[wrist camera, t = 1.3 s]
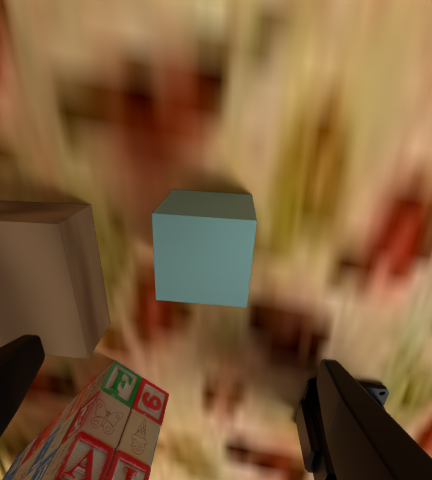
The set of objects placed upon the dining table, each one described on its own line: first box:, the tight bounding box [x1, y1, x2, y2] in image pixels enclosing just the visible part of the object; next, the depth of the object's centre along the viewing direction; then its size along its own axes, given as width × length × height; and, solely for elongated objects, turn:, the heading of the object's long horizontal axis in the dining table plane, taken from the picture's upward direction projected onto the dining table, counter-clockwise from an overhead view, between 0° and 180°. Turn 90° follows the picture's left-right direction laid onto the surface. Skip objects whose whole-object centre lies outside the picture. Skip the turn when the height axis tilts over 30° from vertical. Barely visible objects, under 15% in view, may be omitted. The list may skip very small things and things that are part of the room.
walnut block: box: [0, 201, 110, 359], centre depth 19 cm, size 10×10×4 cm
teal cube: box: [152, 190, 257, 308], centre depth 16 cm, size 5×5×5 cm
